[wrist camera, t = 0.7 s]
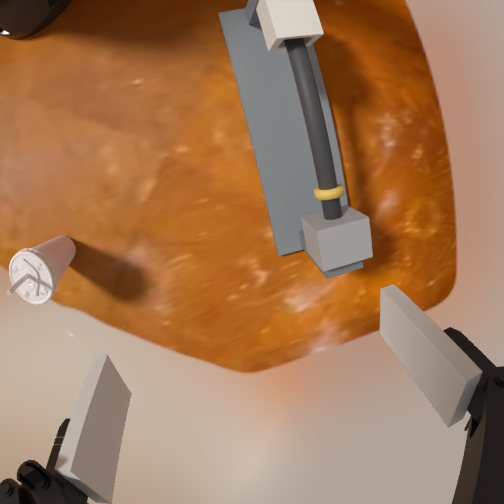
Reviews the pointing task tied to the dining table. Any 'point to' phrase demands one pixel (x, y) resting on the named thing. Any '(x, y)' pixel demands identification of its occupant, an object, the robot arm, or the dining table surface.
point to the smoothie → (40, 269)
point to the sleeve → (288, 22)
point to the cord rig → (295, 146)
